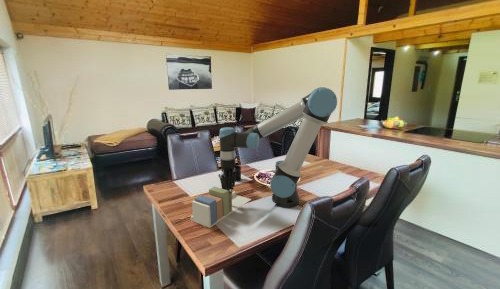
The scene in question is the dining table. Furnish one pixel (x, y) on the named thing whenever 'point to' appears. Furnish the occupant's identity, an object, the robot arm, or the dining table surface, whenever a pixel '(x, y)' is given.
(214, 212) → the book navy
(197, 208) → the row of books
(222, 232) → the dining table surface
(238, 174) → the mug
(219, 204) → the book rust
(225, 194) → the book olive
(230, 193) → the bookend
